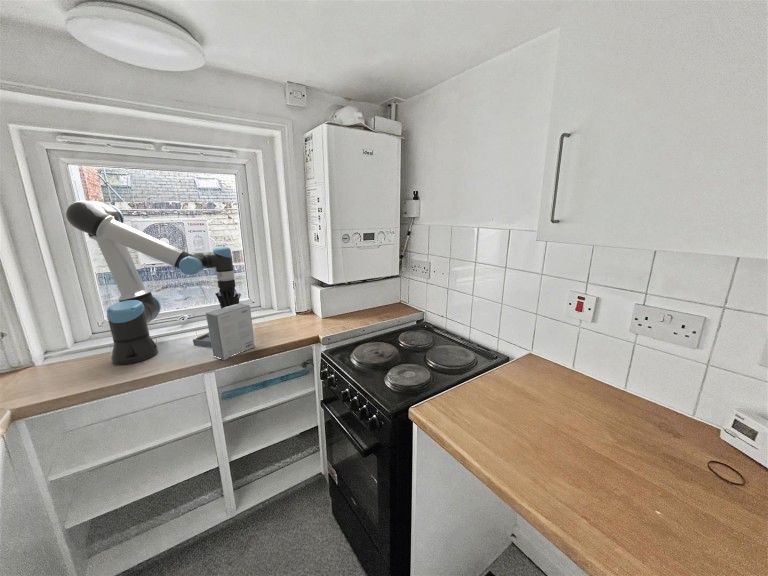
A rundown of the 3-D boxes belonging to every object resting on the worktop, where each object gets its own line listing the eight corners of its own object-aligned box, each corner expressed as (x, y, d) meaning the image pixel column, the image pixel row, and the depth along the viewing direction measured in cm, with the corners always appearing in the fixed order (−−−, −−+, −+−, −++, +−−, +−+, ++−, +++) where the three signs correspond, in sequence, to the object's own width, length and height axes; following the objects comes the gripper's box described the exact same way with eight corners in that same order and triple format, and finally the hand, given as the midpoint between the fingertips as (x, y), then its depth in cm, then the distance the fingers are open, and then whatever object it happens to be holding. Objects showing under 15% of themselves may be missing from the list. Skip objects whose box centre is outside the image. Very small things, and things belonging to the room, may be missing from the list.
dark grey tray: (193, 345, 137) (192, 339, 137) (225, 329, 156) (224, 324, 156) (217, 347, 134) (216, 341, 134) (247, 331, 153) (246, 326, 153)
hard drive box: (245, 343, 139) (240, 302, 134) (255, 347, 135) (250, 305, 130) (212, 357, 126) (205, 312, 121) (222, 361, 122) (216, 315, 117)
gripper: (208, 280, 142) (215, 326, 147) (231, 281, 139) (238, 329, 144) (220, 277, 149) (226, 321, 155) (242, 278, 146) (248, 323, 152)
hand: (232, 325), depth 150 cm, fingers closed
